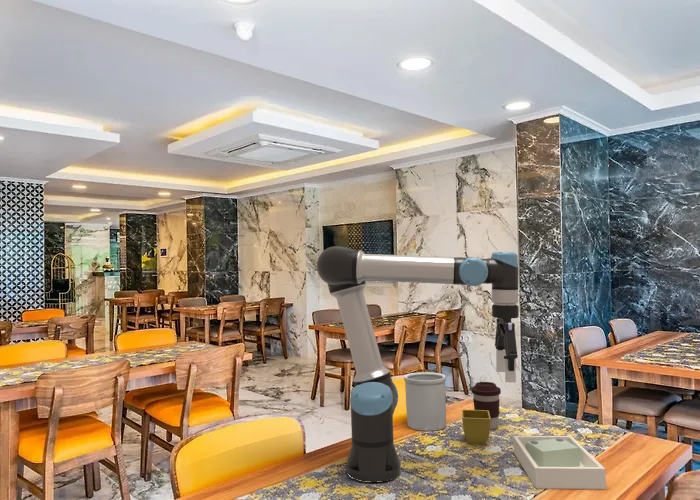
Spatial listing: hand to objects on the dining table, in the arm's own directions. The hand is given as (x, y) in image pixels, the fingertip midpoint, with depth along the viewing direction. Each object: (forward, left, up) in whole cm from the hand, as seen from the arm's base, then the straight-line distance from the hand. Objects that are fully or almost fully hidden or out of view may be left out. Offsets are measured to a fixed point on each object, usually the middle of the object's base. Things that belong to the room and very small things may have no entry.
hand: (505, 376), depth 145 cm
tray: (+11, -7, -24) cm, 27 cm away
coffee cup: (-1, +29, -24) cm, 38 cm away
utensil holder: (-22, +31, -24) cm, 45 cm away
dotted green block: (+11, -5, -23) cm, 26 cm away
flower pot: (-7, +14, -24) cm, 29 cm away
